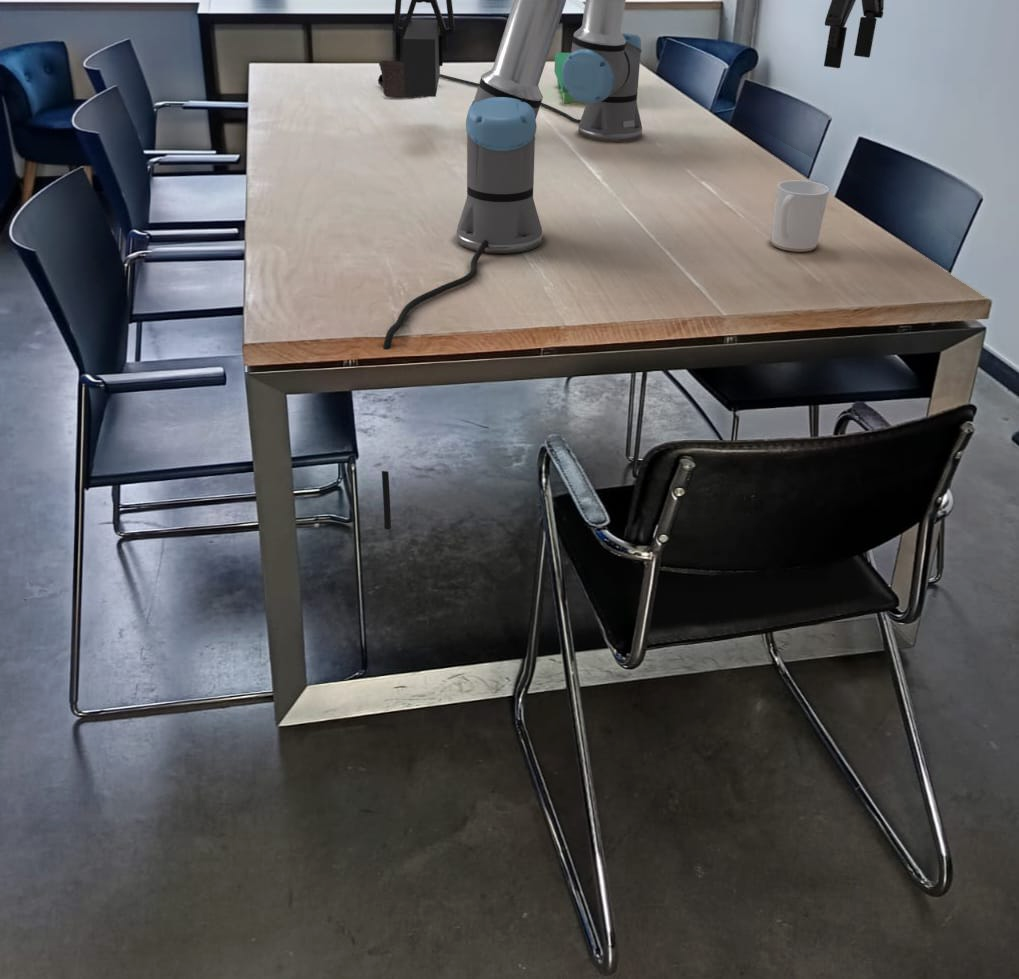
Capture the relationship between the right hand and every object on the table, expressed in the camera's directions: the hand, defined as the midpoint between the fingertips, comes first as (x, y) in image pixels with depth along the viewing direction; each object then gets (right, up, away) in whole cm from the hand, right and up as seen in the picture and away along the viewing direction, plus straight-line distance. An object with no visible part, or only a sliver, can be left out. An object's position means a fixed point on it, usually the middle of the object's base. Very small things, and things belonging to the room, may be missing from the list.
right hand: (424, 64), depth 260 cm
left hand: (+80, -25, -65) cm, 106 cm away
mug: (+71, -57, -64) cm, 111 cm away
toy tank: (+42, +9, +44) cm, 61 cm away
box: (0, -7, -7) cm, 10 cm away
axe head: (-9, +8, +40) cm, 42 cm away
